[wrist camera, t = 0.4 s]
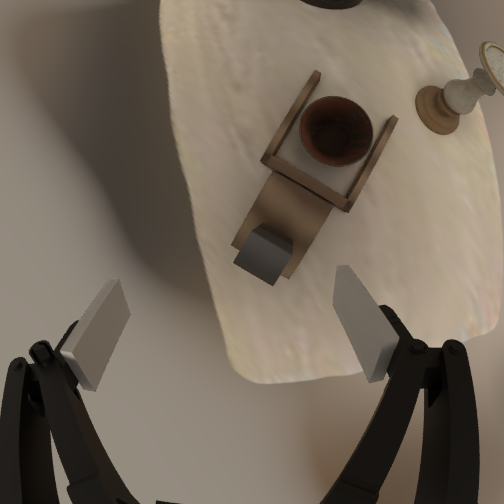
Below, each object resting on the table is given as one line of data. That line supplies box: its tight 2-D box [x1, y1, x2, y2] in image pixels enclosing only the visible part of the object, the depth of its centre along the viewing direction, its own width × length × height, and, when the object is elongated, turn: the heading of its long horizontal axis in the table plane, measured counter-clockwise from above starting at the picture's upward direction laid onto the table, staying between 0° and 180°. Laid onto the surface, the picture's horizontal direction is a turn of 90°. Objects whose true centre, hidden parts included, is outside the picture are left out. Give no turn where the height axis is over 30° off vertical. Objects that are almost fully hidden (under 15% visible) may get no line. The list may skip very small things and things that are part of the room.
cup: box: [299, 96, 374, 167], centre depth 33 cm, size 9×9×10 cm
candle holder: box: [416, 42, 504, 135], centre depth 23 cm, size 9×9×20 cm
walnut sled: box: [231, 70, 399, 286], centre depth 33 cm, size 29×14×12 cm, turn 151°
